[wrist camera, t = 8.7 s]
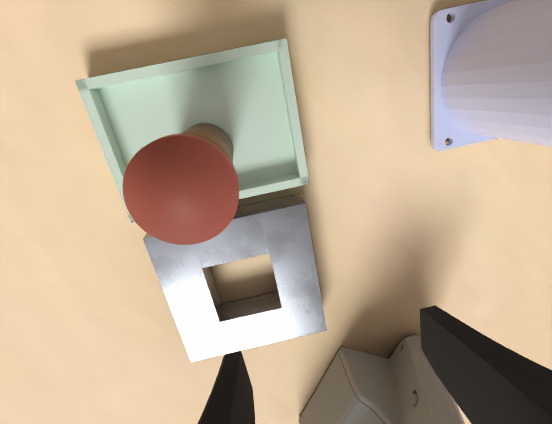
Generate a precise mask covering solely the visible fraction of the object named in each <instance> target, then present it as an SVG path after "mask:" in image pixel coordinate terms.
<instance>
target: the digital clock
mask: <svg viewBox="0 0 552 424" xmlns="http://www.w3.org/2000/svg"><path fill="white" fill-rule="evenodd" d="M299 424H465V423H464V421H463V418H462V416H461V413H460V411H459V409H458V406H457V404H456V402H455V400H454V399H453V397H452V396H451V395H450V393H449V392H448V391H447V389H446V388H445V386H444V385H443V384H442V382H441V381H440V379H439V378H438V377H437V375H436V374H435V372H434V370H433V369H432V367H431V365H430V363H429V362H428V360H427V358H426V356H425V355H424V353H423V351H422V349H421V336H418V335H413V336H408V337H406V338H404V339H403V340H402V341H401V342H400V343H399V345H398V346H397V348H396V349H395V351H394V352H393V354H392V355H391V357H390V358H385V357H381V356H377V355H374V354H370V353H366V352H362V351H358V350H354V349H350V348H346V347H341V348H340V350H339V351H338V353H337V355H336V356H335V358H334V360H333V362H332V363H331V365H330V367H329V368H328V370H327V372H326V374H325V375H324V377H323V379H322V380H321V382H320V384H319V386H318V387H317V389H316V391H315V392H314V394H313V396H312V398H311V399H310V401H309V403H308V404H307V406H306V408H305V410H304V411H303V413H302V415H301V416H300V418H299Z"/></svg>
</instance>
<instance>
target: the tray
mask: <svg viewBox="0 0 552 424" xmlns="http://www.w3.org/2000/svg"><path fill="white" fill-rule="evenodd" d="M75 82H76V85H77V87H78V90H79V92H80V95H81V97H82V100H83V102H84V105H85V107H86V110H87V112H88V115H89V117H90V120H91V122H92V125H93V127H94V130H95V132H96V135H97V137H98V140H99V142H100V145H101V147H102V150H103V152H104V155H105V157H106V160H107V162H108V165H109V167H110V170H111V172H112V175H113V177H114V180H115V182H116V185H117V187H118V190H119V192H120V195H121V197H122V200H123V203H124V205H125V208H126V210H127V213H128V215H129V218H130V220H131V223H132V222H135V221H134V219H133V218H132V216H131V215H130V213H129V211H128V209H127V207H126V204H125V201H124V197H123V177H124V174H125V170H126V168H127V166H128V164H129V162H130V160H131V159H132V157H133V156H134V155H135V154H136V153H137V152H138V151H139V150H140V149H141V148H143V147H144V146H146V145H147V144H149V143H151V142H153V141H154V140H156V139H159V138H161V137H164V136H167V135H172V134H181V133H183V132H184V131H185V130H187V129H188V128H190V127H192V126H193V125H196V124H199V123H210V124H214V125H216V126H218V127H220V128H221V129H223V130H224V131H225V132H226V133H227V134H228V136H229V137H230V139H231V141H232V144H233V165H234V168H235V170H236V173H237V176H238V181H239V199H242V198H247V197H252V196H256V195H261V194H265V193H270V192H275V191H279V190H284V189H288V188H293V187H298V186H302V185H307V184H309V178H308V172H307V165H306V159H305V152H304V146H303V140H302V133H301V127H300V121H299V114H298V108H297V102H296V95H295V89H294V83H293V76H292V70H291V63H290V57H289V51H288V44H287V38H285V39H280V40H275V41H270V42H265V43H260V44H255V45H250V46H245V47H240V48H235V49H230V50H225V51H220V52H215V53H210V54H205V55H200V56H195V57H190V58H185V59H180V60H176V61H171V62H166V63H161V64H156V65H151V66H146V67H141V68H136V69H131V70H126V71H121V72H116V73H111V74H106V75H101V76H96V77H91V78H86V79H81V80H76V81H75Z"/></svg>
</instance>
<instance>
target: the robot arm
mask: <svg viewBox="0 0 552 424" xmlns="http://www.w3.org/2000/svg"><path fill="white" fill-rule="evenodd" d="M448 14H449V15H450V16H451V21H450V22H449V23H448V22H447V19H446V18H447V15H448ZM430 53H431V147H432V148H433V149H434V150H437V151H442V150H447V149H452V148H456V147H461V146H466V145H470V144H475V143H479V142H484V141H489V140H493V139H498V138H502V139H508V140H514V141H520V142H526V143H532V144H538V145H544V146H550V147H552V0H486V1H481V2H476V3H471V4H466V5H461V6H456V7H451V8H446V9H442V10H439V11H437V12H435V13H434V14H433V15H432V17H431V21H430ZM447 138H449V142H448V143H447V144H445V141H446V139H447ZM420 325H421V349H422V351H423V353H424V355H425V356H426V358H427V360H428V362H429V363H430V365H431V367H432V369H433V370H434V372H435V374H436V375H437V377H438V378H439V379H440V381H441V382H442V384H443V385H444V386H445V388H446V389H447V391H448V392H449V393H450V395H451V396H452V397H453V399H454V400H455V402H456V403H457V404H458V406H459V407H460V408H461V410H462V411H463V413H464V414H465V415H466V417H467V418H468V419H469V421H470V422H471V423H472V424H552V370H550V369H548V368H546V367H544V366H541V365H539V364H537V363H535V362H533V361H531V360H529V359H527V358H525V357H523V356H521V355H519V354H518V353H516V352H514V351H512V350H510V349H508V348H506V347H504V346H502V345H501V344H499V343H497V342H495V341H493V340H492V339H490V338H488V337H486V336H485V335H483V334H481V333H480V332H478V331H476V330H475V329H473V328H471V327H470V326H468V325H466V324H465V323H463V322H461V321H460V320H458V319H456V318H455V317H453V316H452V315H450V314H448V313H447V312H445V311H443V310H442V309H440V308H438V307H437V306H431V307H427V308H422V309H420ZM198 424H255V411H254V400H253V389H252V385H251V382H250V379H249V375H248V372H247V369H246V366H245V362H244V359H243V356H242V353H241V351H238V352H233V353H229V354H225V356H224V357H223V360H222V364H221V367H220V370H219V373H218V375H217V378H216V381H215V384H214V386H213V389H212V392H211V394H210V396H209V399H208V401H207V404H206V406H205V409H204V411H203V413H202V415H201V418H200V420H199V422H198Z"/></svg>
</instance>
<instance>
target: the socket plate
mask: <svg viewBox="0 0 552 424" xmlns="http://www.w3.org/2000/svg"><path fill="white" fill-rule="evenodd" d="M143 240H144V243H145V245H146V248H147V250H148V253H149V256H150V258H151V261H152V263H153V266H154V268H155V271H156V273H157V276H158V278H159V281H160V284H161V286H162V289H163V291H164V294H165V296H166V299H167V301H168V304H169V307H170V309H171V312H172V314H173V317H174V319H175V322H176V324H177V327H178V330H179V332H180V335H181V337H182V340H183V342H184V345H185V347H186V350H187V353H188V355H189V358H190V360H191V362H192V361H197V360H201V359H205V358H209V357H214V356H218V355H222V354H227V353H231V352H235V351H239V350H244V349H248V348H252V347H257V346H261V345H265V344H270V343H274V342H278V341H282V340H287V339H291V338H295V337H300V336H304V335H308V334H312V333H317V332H321V331H325V330H327V329H326V323H325V317H324V311H323V305H322V299H321V293H320V287H319V281H318V275H317V269H316V263H315V257H314V251H313V245H312V239H311V233H310V227H309V221H308V215H307V209H306V203H305V202H304V200H303V198H302V197H301V195H300V194H296V195H291V196H287V197H282V198H277V199H273V200H268V201H264V202H259V203H254V204H250V205H245V206H241V207H237V211H236V213H235V216H234V217H233V219H232V221H231V222H230V224H229V225H228V226H227V227H226V228H225V229H224V230H223V231H222V232H221V233H220V234H218V235H217V236H215V237H214V238H212V239H210V240H208V241H205V242H202V243H198V244H193V245H177V244H171V243H167V242H164V241H161V240H159V239H157V238H155V237H153V236H151V235H150V234H148V233H147V234H146V235H145V237H144V238H143ZM268 253H270V257H271V261H272V266H273V270H274V274H275V279H276V283H277V288H278V291H277V292H272V293H268V294H264V295H259V296H255V297H250V298H246V299H242V300H237V301H233V302H228V303H224V304H221V302H220V299H219V296H218V292H217V289H216V286H215V283H214V280H213V276H212V273H211V270H210V266H214V265H219V264H223V263H228V262H232V261H237V260H241V259H245V258H250V257H254V256H259V255H263V254H268Z"/></svg>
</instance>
